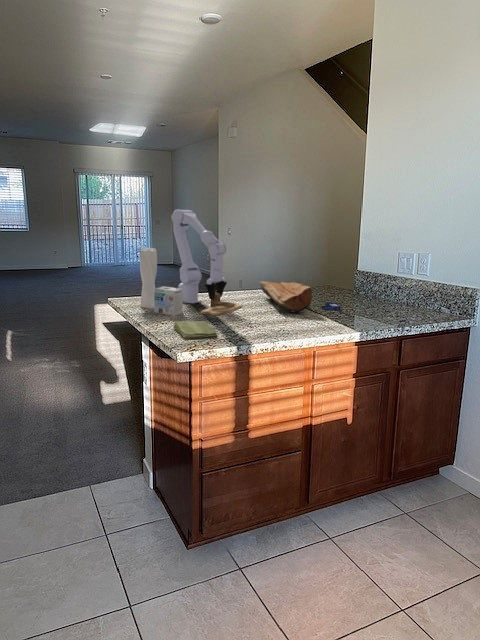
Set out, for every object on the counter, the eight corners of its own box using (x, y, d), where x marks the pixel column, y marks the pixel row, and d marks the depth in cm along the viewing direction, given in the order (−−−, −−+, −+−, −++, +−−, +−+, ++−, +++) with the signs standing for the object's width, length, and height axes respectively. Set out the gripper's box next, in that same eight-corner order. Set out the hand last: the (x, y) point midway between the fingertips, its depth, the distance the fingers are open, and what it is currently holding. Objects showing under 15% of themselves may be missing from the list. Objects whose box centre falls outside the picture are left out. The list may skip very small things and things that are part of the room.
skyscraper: (136, 307, 210) (135, 244, 204) (144, 304, 217) (144, 243, 211) (152, 309, 208) (152, 245, 202) (159, 306, 215) (159, 244, 209)
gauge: (210, 306, 218) (210, 292, 217) (214, 305, 222) (214, 291, 221) (232, 309, 214) (233, 295, 212) (236, 308, 217) (236, 293, 216)
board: (200, 313, 203) (200, 310, 203) (224, 305, 224) (224, 302, 223) (218, 315, 200) (219, 313, 199) (241, 307, 220) (241, 305, 220)
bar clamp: (316, 301, 230) (334, 301, 233) (315, 306, 231) (334, 306, 233) (347, 318, 200) (368, 318, 203) (347, 324, 200) (367, 323, 203)
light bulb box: (153, 312, 201) (153, 287, 198) (163, 310, 207) (163, 286, 204) (174, 316, 196) (174, 290, 194) (183, 313, 202) (183, 288, 200)
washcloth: (183, 341, 160) (183, 331, 159) (172, 328, 176) (172, 320, 175) (219, 338, 164) (220, 330, 164) (205, 327, 181) (205, 319, 180)
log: (311, 314, 207) (314, 280, 206) (272, 310, 204) (275, 276, 204) (289, 310, 249) (292, 282, 248) (256, 307, 247) (259, 279, 246)
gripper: (216, 271, 208) (215, 301, 211) (231, 268, 221) (230, 296, 224) (203, 269, 211) (202, 299, 214) (218, 266, 223) (217, 295, 226)
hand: (215, 297), depth 219 cm, fingers open, 7 cm apart
